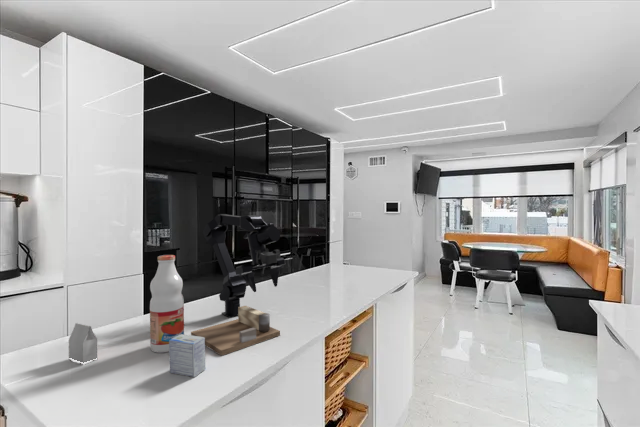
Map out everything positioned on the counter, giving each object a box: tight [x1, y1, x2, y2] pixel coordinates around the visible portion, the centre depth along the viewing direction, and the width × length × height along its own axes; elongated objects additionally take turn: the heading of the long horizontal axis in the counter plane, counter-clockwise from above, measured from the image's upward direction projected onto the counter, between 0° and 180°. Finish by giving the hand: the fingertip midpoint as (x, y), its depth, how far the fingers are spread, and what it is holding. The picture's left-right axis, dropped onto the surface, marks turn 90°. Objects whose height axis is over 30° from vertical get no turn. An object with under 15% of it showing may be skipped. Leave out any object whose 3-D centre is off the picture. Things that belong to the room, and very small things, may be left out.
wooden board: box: [190, 318, 281, 357], centre depth 107 cm, size 21×21×4 cm
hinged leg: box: [237, 305, 271, 332], centre depth 111 cm, size 16×4×5 cm, turn 45°
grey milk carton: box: [68, 322, 98, 363], centre depth 90 cm, size 4×7×10 cm, turn 65°
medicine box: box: [168, 333, 206, 378], centre depth 83 cm, size 8×4×9 cm, turn 71°
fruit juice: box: [149, 254, 185, 354], centre depth 99 cm, size 9×9×28 cm
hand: (265, 289), depth 118 cm, fingers open, 9 cm apart
